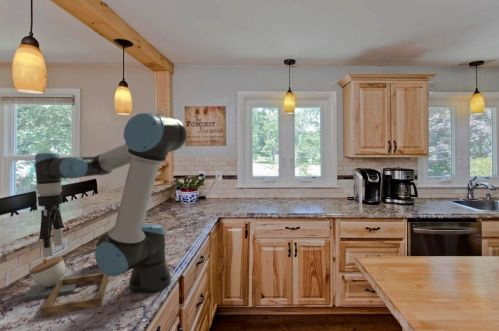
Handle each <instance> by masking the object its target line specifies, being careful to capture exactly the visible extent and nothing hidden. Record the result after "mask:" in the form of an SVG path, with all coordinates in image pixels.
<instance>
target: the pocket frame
mask: <svg viewBox="0 0 499 331" xmlns="http://www.w3.org/2000/svg"><path fill="white" fill-rule="evenodd" d="M108 282H109V275H107V274H105V273H104V272H102V273H101V272H100V273H94V274H87V275H81V276H79V277H72V278H65V279H62V280H60V281H59V282H58V283H57V285H56V286H55V288H54V289H53V291H52V292H51V294H50V296H49V297H47V299H46V300H45V302H44V303H43V305H42V306H41V308H40V309H41V318H48V317H54V316H59V315H64V314H70V313H77V312H80V311H85V310H86V311H87V310H93V309H97V308H101V307H102V305H103V301H104V300H103V299H104V297H105V293H106V290H107V285H108ZM71 283H77V286H82V285H84V286H85V285H90V284H91V285H92V284H96V283H100V285H99V290H98V293H97V296H95V297H89V298H83V299H78V300H71V301H67V302H60V303H56V301H57V299H58V298H59V296H60V295H59V291H60V289H61V288H62V286H63V285H64V284H71Z"/></svg>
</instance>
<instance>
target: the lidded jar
mask: <svg viewBox="0 0 499 331" xmlns="http://www.w3.org/2000/svg"><path fill="white" fill-rule="evenodd" d="M66 270H67V268H66V264H65V261H64V257H63V256H62V255H58V256H55V257H52V258H49V259H47V258H44V259H42V262H41V263H39V264H37V265H35V266H34V267H32V268H31V269H30V270H29V274H30V275H31V277H32V279H33V280H34V282H35V283H38V284H40V285H43V286H45V287H48V286H51V285H53V284H55V283H57V282H59V281H60V280H62V279H63V277H64V276H65V274H66Z"/></svg>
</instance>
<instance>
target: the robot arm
mask: <svg viewBox="0 0 499 331" xmlns="http://www.w3.org/2000/svg"><path fill="white" fill-rule="evenodd" d="M123 129H124V130H123V139H124V140H125V141H124V143H125V144H122V145H119V146H118V147H114V148H112V149H109V150H108V151H105V152H102V153H100V154H97V155H95V156H67V157H60V154H59V153H57V152H43V153H40V152H39V153H36V154H35V156H34V157H35V158H34V162H35V163H34V167H35V169H34V170H35V178H36V186H35V190H36V191H37V195H38V196H37V204H38V207H43V208H44V209H42V210H41V211H40V217H41V219H40V229H39V230H40V231H39V236H38V239H39V240H42V241H41V243H42V254H43V255H42V256H43V257H42V258H48V257H53V256H54V250H53V246H54V247H60V246H63V245H64V244H63V242H64V241H63V229H64V228H65V225H64V224H63V218H62V213H61V207H60V205H61V204H63V194H61V193H62V191H63V190H62V188H63V187H62V179H70V180H71V179H79V178H84V177H93V176H95V177H96V176H104V175H109V174H111V173H112V172H113V171H114V170H116V169H119V168H122V167H125V166H127V165H129V167H128V170H127V175H126V179H125V182H124V188H123V191H122V196H121V199H120V202H119V207H118V212H117V215H116V220H115V224H114V226H112V227H110V228H109V230H108V231H107V232H108V235H107V239H106V241H105V242H102V243H101V244H100V245H98V246H97V248H95V252H94V258H95V263H96V264H97V266H98V268H99V270H101V272H102V273H105V274H107V275H108V277H109V276H110V277H118V276H121V275H123V274H125V273H127V272H128V271H130V270H131V273H130V277H129V281H128V287H129V290H130V291H131V292H133V293H135V294H149V293H154V292H158V291H161V290H164V289H165V288H168V286H170V284H171V282H172V280H171V279H172V276H171V272H170V271H169V268H168V265H167V262H166V242H165V241H166V239H165V238H166V233H165V227H164V226H163V224H159V223H145V220H146V216H147V213H148V208H149V206H150V204H149V203H150V202H151V201H150V200H151V197H152V193H153V189H154V185H155V182H156V177H157V174H158V170H159V166H160V165H161V164H162V163H164V162H166V159H167V157H168V156H167V155H168V153H170V152H175V151H177V150H179V149H181V148H182V147H183V145H184V144H185V143H186V140H187V129H186V127H185V125H184V124H183V123H182V122H181V121H180V119H177V118H175V117H173V116H172V117H171V116H165V115H160V114H156V113H152V112H150V113H149V112H147V113H146V112H141V113H137V114H135V115H134V116H132V117H131V118H129V119H128V121H127V122H126V124H125V126H124V128H123ZM52 231H53V237H52V236H51V235H52Z"/></svg>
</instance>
